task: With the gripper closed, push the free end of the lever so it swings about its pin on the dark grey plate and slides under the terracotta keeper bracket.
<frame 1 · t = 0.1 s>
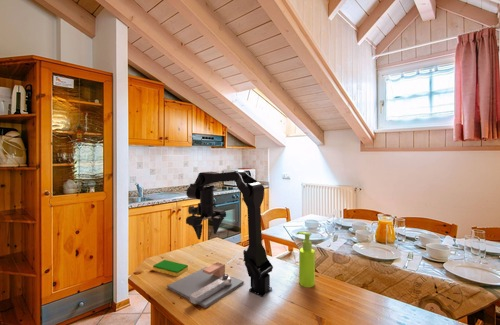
hand: (207, 236, 113), 15 cm above the table, tool pointing down, fingers open, 9 cm apart
lever: (212, 286, 94), point 3 cm above the table, hinge at 90.0°
base plate: (206, 285, 100), on the table
dish sponge: (170, 271, 114), on the table
soap dispenser: (305, 283, 102), on the table
keeper: (218, 277, 107), resting on base plate
butter knife: (227, 265, 119), on the table
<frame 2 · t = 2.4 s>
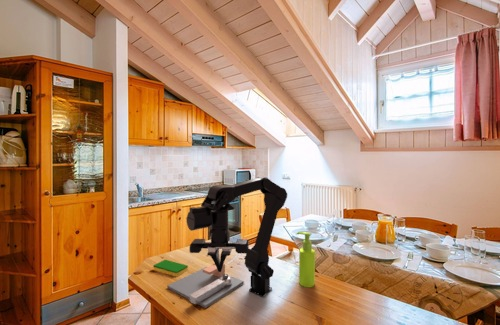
hand: (220, 271, 85), 12 cm above the table, tool pointing down, fingers closed
nothing on the table moved.
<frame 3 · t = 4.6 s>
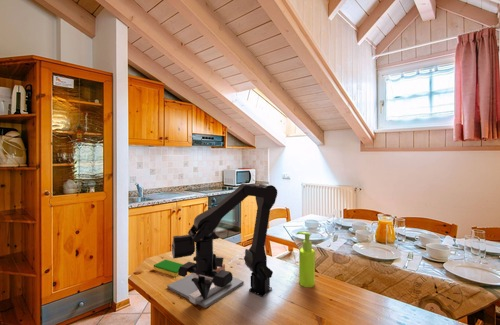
hand: (205, 298, 87), 2 cm above the table, tool pointing down, fingers closed
lever: (212, 286, 94), point 3 cm above the table, hinge at 89.2°, touching gripper
everything else where it was.
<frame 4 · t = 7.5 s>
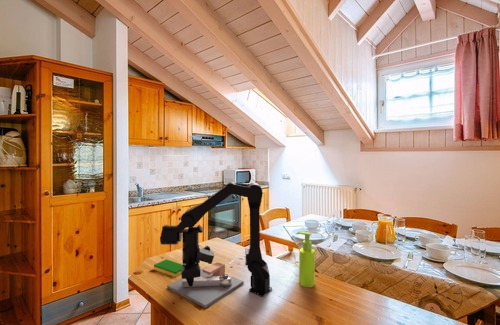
hand: (190, 286, 95), 2 cm above the table, tool pointing down, fingers closed
lever: (207, 280, 98), point 3 cm above the table, hinge at 41.7°, touching gripper
everything else where it was.
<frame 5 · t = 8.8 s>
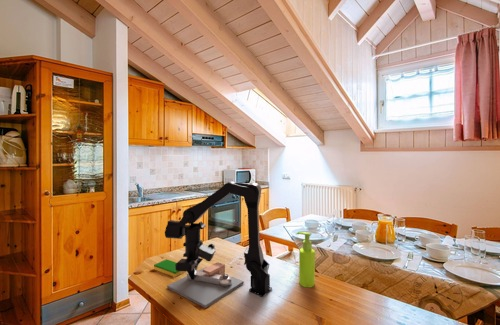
hand: (192, 279, 101), 2 cm above the table, tool pointing down, fingers closed
lever: (209, 276, 101), point 3 cm above the table, hinge at 18.9°, touching gripper
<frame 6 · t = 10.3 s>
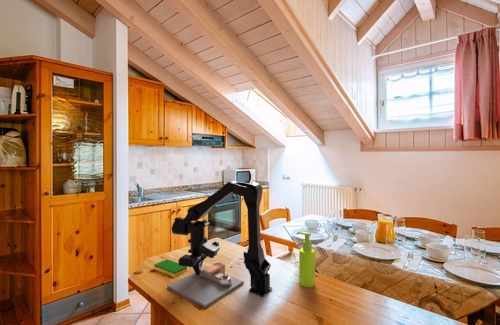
hand: (197, 274, 104), 2 cm above the table, tool pointing down, fingers closed
lever: (213, 274, 103), point 3 cm above the table, hinge at 0.4°, touching gripper
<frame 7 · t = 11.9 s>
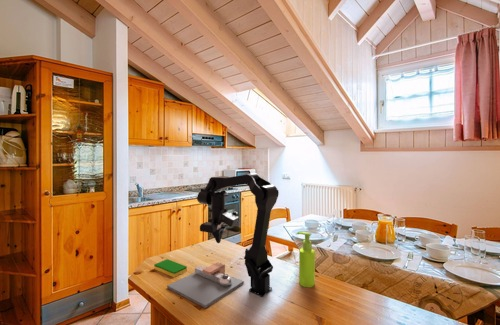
hand: (218, 242, 110), 13 cm above the table, tool pointing down, fingers closed
lever: (213, 274, 103), point 3 cm above the table, hinge at 0.2°
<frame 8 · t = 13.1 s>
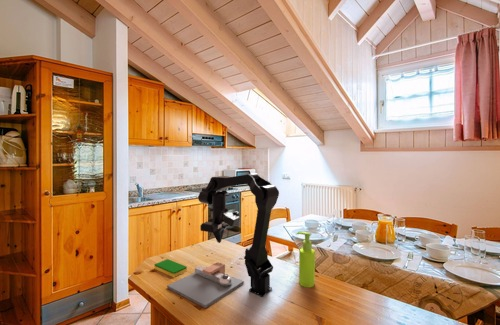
hand: (219, 242, 110), 13 cm above the table, tool pointing down, fingers closed
at the end: lever at +0° (first picture: +90°) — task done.
